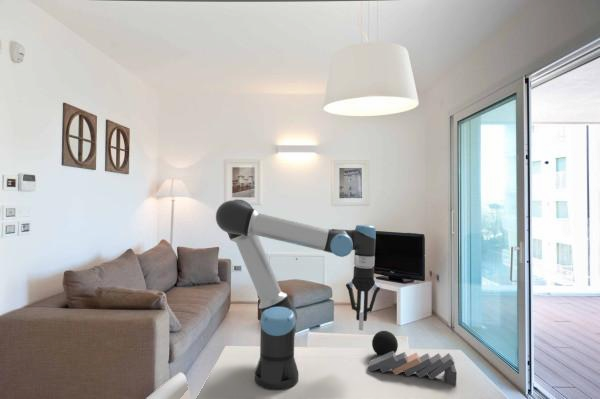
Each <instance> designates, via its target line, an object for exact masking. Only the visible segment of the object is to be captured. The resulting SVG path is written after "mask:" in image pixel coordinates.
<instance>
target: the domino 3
mask: <svg viewBox="0 0 600 399" xmlns="http://www.w3.org/2000/svg"><path fill="white" fill-rule="evenodd" d="M420 357H421V356H419V354H418V352H415V353H413V354H411V355H409V356H407V361H408V363H406V364H403V365H401V366H399V367H396V368H394V369H391V371H392V373H393V374H394V375H395V376H396V375H399V374H401V373H403V372H404V371H405V370H407V369H409V368H411V367H413V366H415V365H418V364H420Z"/></svg>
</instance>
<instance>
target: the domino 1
mask: <svg viewBox="0 0 600 399" xmlns="http://www.w3.org/2000/svg"><path fill="white" fill-rule="evenodd" d="M395 361H396V353H394V351H391V352H389V353H387V354H385V355H382V356H378V357H376V358H373V359H371V360H369V361H368V369H369V371H370V372H374V371H376V370H380V368H381V367H384V366H386V365H388V364H391V363H393V362H395Z"/></svg>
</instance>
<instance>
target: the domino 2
mask: <svg viewBox="0 0 600 399" xmlns="http://www.w3.org/2000/svg"><path fill="white" fill-rule="evenodd" d="M395 355H396V354H395ZM407 357H408V356H407V354H406V352H402V353H399V354H397V355H396V361H395V362H393V363H391V364H388V365H386V366H384V367H381V368H379V371H380V372H381V373H382V374H384V373H387V372H389V371H392V369H394V368H396V367H399V366H401V365H403V364H406V363H408V361H407Z"/></svg>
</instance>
